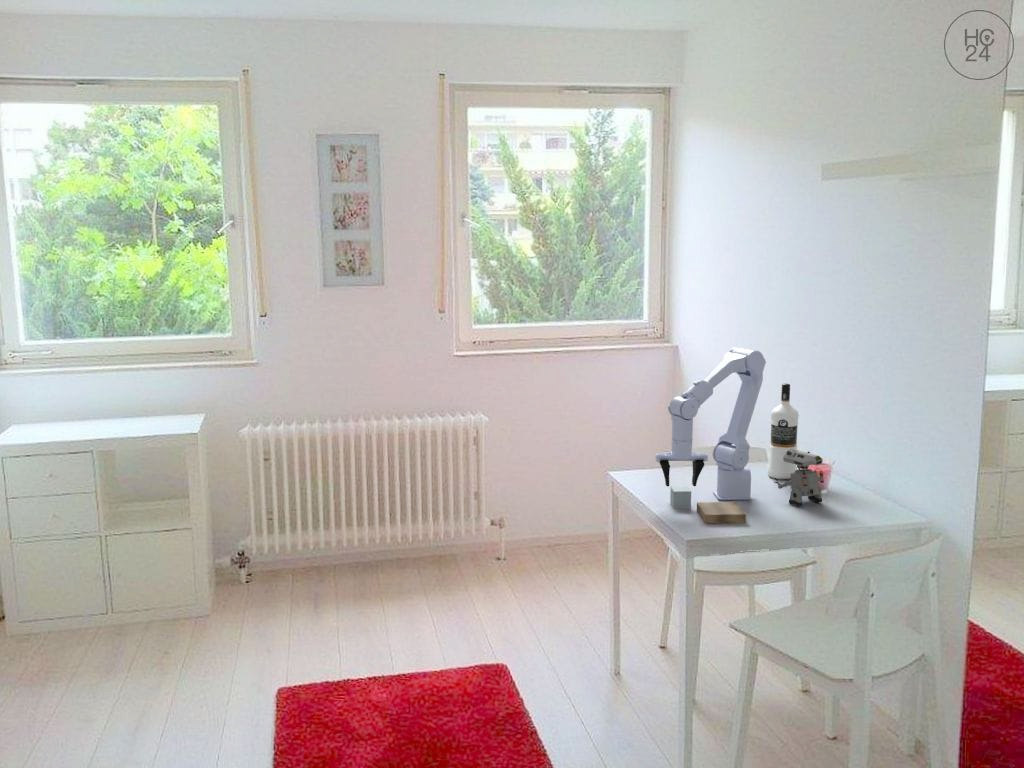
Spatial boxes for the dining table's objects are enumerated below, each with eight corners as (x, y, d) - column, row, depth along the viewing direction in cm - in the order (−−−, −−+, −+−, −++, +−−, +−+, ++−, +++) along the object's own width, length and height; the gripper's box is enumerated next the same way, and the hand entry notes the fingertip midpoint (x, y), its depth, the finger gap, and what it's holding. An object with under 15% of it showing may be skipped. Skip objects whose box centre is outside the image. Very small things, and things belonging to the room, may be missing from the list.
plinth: (735, 510, 260) (735, 502, 259) (745, 523, 249) (746, 514, 249) (696, 511, 260) (696, 502, 259) (705, 523, 249) (705, 514, 248)
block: (687, 502, 268) (687, 486, 267) (690, 508, 263) (691, 491, 262) (670, 503, 268) (670, 486, 267) (673, 508, 263) (673, 491, 262)
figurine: (796, 494, 275) (798, 445, 272) (826, 504, 265) (828, 453, 262) (773, 499, 270) (775, 449, 268) (803, 509, 260) (805, 458, 258)
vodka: (800, 474, 296) (804, 382, 290) (792, 481, 288) (797, 387, 283) (771, 471, 300) (775, 380, 295) (763, 477, 293) (767, 384, 287)
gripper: (704, 435, 266) (703, 481, 268) (654, 436, 266) (653, 481, 268) (709, 441, 259) (708, 488, 261) (658, 441, 259) (657, 488, 261)
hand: (680, 485), depth 264 cm, fingers open, 7 cm apart
